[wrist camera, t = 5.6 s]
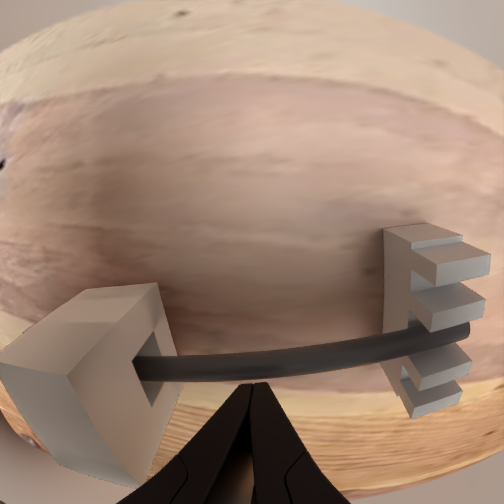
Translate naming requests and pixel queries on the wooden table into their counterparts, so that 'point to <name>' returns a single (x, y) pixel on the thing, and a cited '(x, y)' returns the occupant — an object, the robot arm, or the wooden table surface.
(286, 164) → the wooden table surface
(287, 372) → the cord rig
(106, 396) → the sleeve
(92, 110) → the wooden table surface
